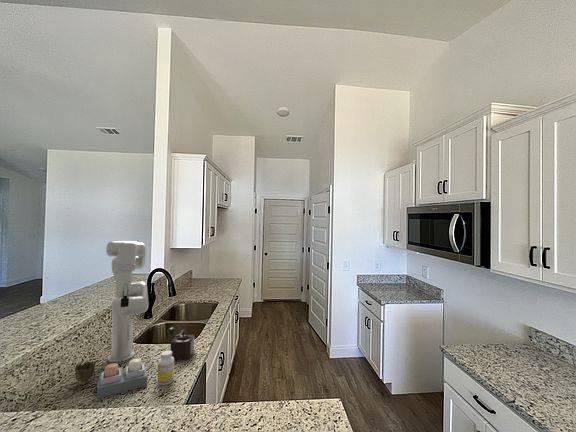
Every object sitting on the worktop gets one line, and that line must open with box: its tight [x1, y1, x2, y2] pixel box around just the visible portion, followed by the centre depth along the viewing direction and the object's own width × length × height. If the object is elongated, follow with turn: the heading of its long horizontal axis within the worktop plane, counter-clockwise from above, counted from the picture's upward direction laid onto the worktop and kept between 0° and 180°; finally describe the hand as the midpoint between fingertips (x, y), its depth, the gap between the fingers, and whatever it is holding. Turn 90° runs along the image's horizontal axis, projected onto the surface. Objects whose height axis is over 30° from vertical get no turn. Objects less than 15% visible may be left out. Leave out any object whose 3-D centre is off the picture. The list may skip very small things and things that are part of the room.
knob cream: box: [128, 358, 142, 372], centre depth 121 cm, size 5×5×5 cm
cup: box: [74, 361, 96, 386], centre depth 119 cm, size 8×7×8 cm
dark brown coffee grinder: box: [167, 324, 195, 361], centre depth 145 cm, size 16×11×18 cm
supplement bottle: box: [157, 350, 175, 386], centre depth 122 cm, size 7×7×13 cm
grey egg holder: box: [96, 362, 148, 399], centre depth 119 cm, size 12×18×6 cm, turn 122°
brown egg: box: [104, 362, 119, 378], centre depth 116 cm, size 5×5×5 cm
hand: (124, 306), depth 128 cm, fingers closed
